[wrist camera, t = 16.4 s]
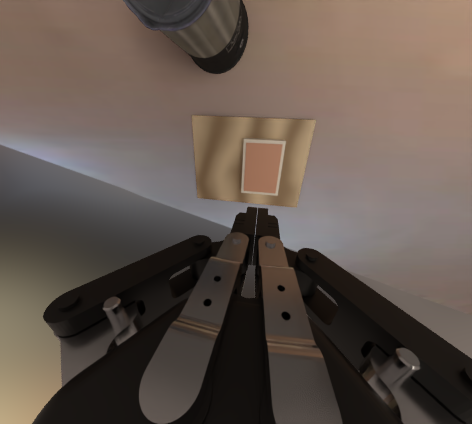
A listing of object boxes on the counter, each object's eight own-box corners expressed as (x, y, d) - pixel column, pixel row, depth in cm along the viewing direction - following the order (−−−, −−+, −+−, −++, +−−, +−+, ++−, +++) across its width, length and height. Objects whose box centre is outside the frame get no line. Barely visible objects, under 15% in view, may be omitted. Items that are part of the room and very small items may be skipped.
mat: (315, 120, 27) (315, 120, 26) (296, 206, 34) (296, 207, 33) (192, 115, 29) (191, 115, 29) (198, 196, 36) (197, 197, 36)
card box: (245, 137, 29) (284, 139, 28) (242, 188, 33) (276, 191, 33) (243, 139, 27) (286, 141, 26) (241, 193, 31) (277, 196, 30)
